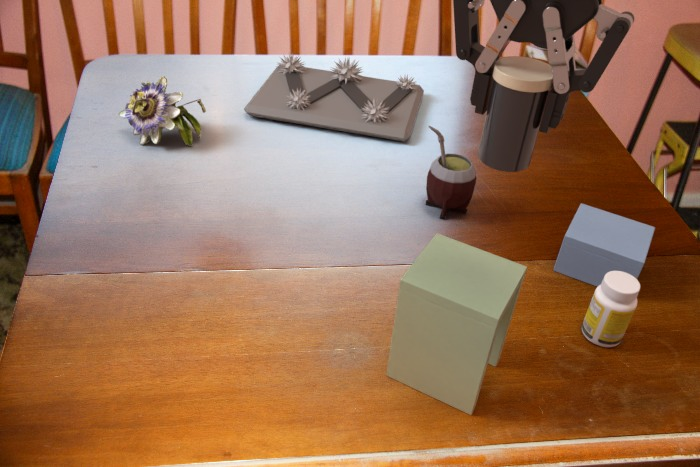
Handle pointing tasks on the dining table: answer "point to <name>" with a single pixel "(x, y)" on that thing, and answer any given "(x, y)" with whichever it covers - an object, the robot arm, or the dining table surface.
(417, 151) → the dining table surface
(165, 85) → the passion flower
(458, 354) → the notched sage green block
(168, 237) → the dining table surface
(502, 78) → the spice jar
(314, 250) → the dining table surface
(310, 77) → the spiky constellation board
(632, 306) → the supplement bottle
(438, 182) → the mate gourd
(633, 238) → the blue grey block
